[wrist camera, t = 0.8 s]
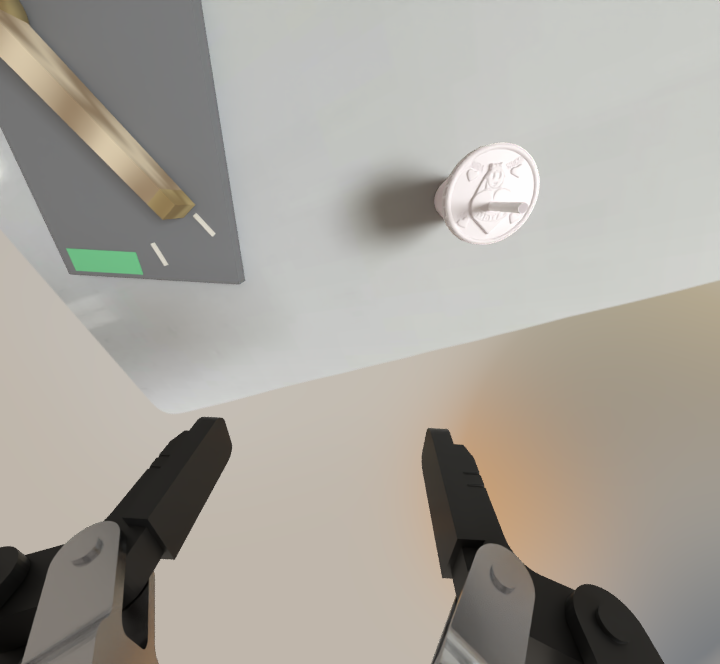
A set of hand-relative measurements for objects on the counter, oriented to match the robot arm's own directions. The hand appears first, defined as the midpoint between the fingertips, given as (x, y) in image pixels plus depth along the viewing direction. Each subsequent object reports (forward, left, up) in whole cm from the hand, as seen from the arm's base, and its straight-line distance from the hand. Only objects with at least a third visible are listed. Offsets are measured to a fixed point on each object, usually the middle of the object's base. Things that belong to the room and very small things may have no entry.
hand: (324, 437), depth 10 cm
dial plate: (-11, -23, -23) cm, 35 cm away
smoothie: (-9, +10, -23) cm, 27 cm away
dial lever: (-14, -23, -21) cm, 34 cm away
